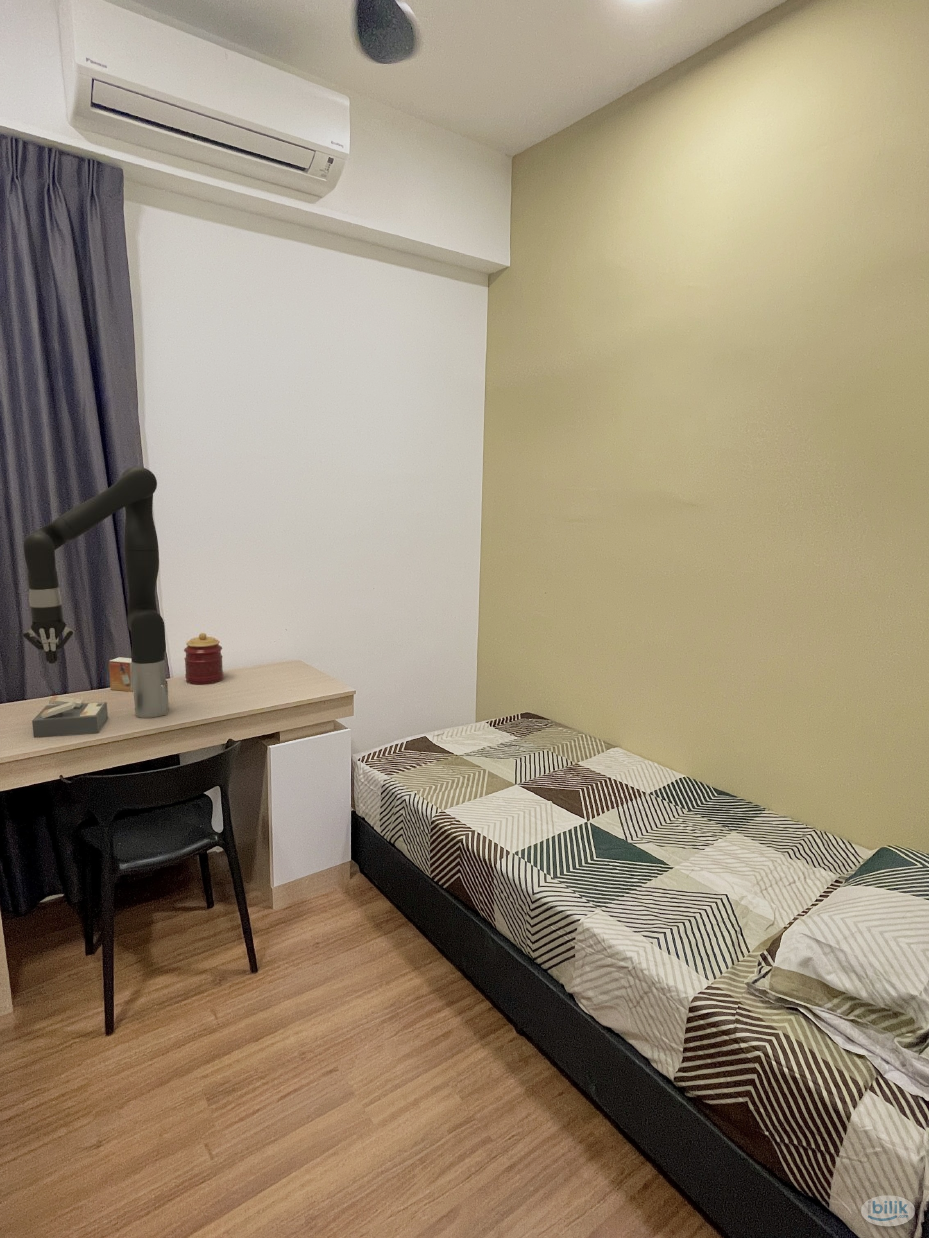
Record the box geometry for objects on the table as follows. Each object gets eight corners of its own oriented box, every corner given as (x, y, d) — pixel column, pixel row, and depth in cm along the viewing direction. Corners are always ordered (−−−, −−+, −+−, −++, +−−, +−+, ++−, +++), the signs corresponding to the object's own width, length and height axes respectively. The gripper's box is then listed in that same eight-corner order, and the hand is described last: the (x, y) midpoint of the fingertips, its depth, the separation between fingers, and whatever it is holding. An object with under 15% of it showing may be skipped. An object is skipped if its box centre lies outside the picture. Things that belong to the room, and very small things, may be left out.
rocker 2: (75, 704, 187) (74, 700, 186) (72, 708, 184) (70, 704, 183) (46, 714, 185) (44, 710, 185) (42, 718, 182) (40, 714, 181)
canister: (195, 674, 245) (193, 628, 242) (229, 675, 245) (227, 630, 241) (179, 684, 232) (176, 636, 229) (214, 685, 232) (212, 637, 228)
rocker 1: (82, 703, 194) (83, 699, 194) (79, 707, 191) (80, 703, 190) (52, 699, 191) (53, 695, 191) (48, 703, 188) (49, 699, 188)
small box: (110, 690, 223) (108, 660, 221) (121, 685, 229) (119, 656, 227) (131, 692, 222) (129, 662, 220) (142, 687, 228) (140, 658, 225)
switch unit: (107, 717, 198) (106, 699, 197) (98, 733, 186) (96, 714, 185) (47, 721, 193) (46, 703, 192) (33, 737, 181) (31, 718, 180)
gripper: (75, 600, 188) (81, 657, 192) (23, 602, 184) (30, 660, 188) (69, 605, 181) (75, 664, 185) (14, 607, 177) (22, 668, 181)
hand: (52, 662), depth 186 cm, fingers closed
